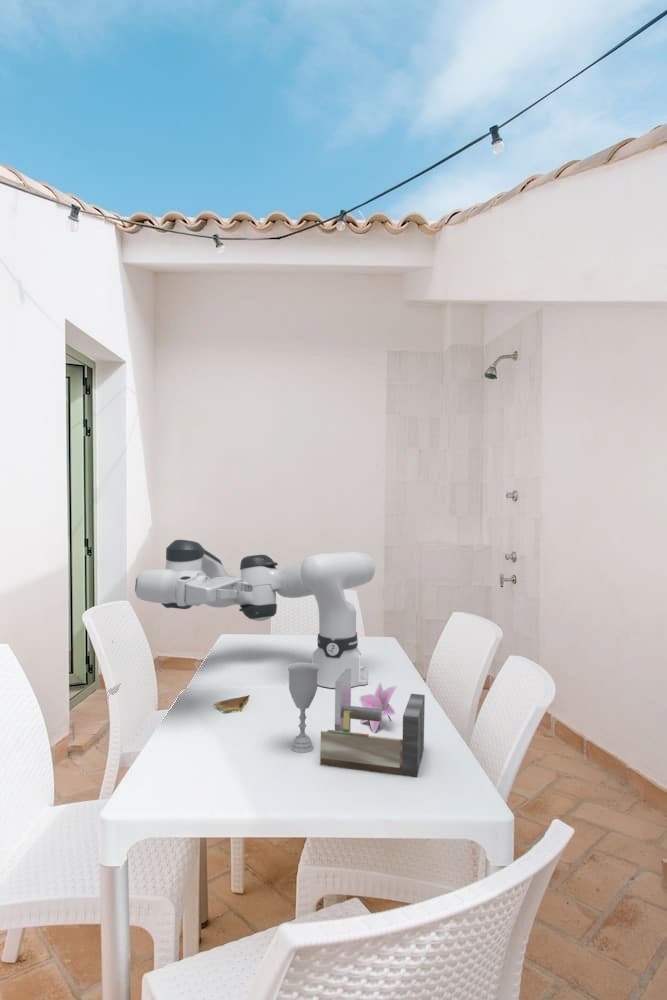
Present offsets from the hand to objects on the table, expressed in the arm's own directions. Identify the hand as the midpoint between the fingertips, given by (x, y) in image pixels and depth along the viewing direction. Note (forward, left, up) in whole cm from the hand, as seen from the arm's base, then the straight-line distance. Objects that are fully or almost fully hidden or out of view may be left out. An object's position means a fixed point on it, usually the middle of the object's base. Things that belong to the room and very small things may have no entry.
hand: (245, 590), depth 149 cm
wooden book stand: (+12, +35, -32) cm, 49 cm away
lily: (-6, +33, -32) cm, 46 cm away
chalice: (+12, +19, -32) cm, 39 cm away
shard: (-8, -7, -33) cm, 34 cm away
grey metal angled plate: (+13, +32, -30) cm, 46 cm away
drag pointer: (+17, +30, -30) cm, 46 cm away
